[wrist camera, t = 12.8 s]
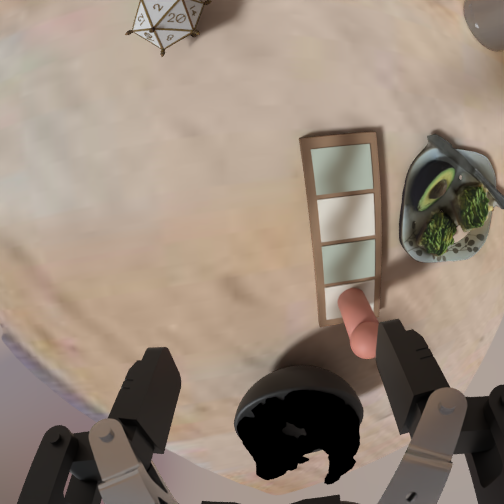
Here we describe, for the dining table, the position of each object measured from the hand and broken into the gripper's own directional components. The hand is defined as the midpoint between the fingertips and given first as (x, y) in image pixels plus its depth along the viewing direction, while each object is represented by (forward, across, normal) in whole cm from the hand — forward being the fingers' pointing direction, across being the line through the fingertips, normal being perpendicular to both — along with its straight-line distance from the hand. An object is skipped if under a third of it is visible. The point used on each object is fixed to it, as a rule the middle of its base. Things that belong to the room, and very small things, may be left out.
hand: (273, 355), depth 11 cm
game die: (+28, +7, -22) cm, 37 cm away
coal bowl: (+28, 0, +34) cm, 44 cm away
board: (+28, -9, +8) cm, 31 cm away
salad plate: (+29, -25, +5) cm, 38 cm away
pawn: (+26, -9, +17) cm, 33 cm away
